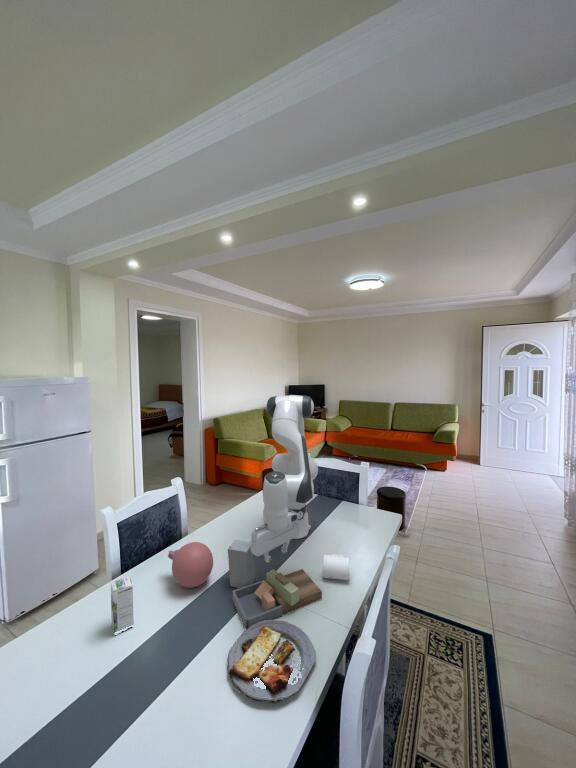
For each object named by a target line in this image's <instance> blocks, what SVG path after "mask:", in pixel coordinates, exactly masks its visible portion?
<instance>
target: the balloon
mask: <svg viewBox="0 0 576 768" xmlns="http://www.w3.org/2000/svg"><path fill="white" fill-rule="evenodd" d="M167 557H168V559H170V560H172V564H171V574H172V576H173V578H174V581H175V582H176V583H177V584H178V585H179V586H181V587H183V588H188V589H189V588H190V589H191V588H192V589H193V588H196V587H199V586H201V585H202V584H203V583H205V581H207V580H208V578H209V577H210V575H211V574H212V572H213V571H212V570H213V568H214V556H213V553H212V551H211V549H210V548H209V547H208V546H207V545H206V544H205V543H203V542H200V541H192V542H188V543H186V544H184V545H183V546H181V547H180V548H179V549H175V550H169V551H168V554H167Z"/></svg>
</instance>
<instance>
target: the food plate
mask: <svg viewBox="0 0 576 768" xmlns="http://www.w3.org/2000/svg"><path fill="white" fill-rule="evenodd" d="M281 638H283V639H284V640H285V641H282V642H281V644H280V641H281ZM279 645H280V646H279ZM293 645H294V646H295V647H294V646H293ZM295 648H296V649H295ZM296 650H297V652H299V653H298V654H299V655H297V657H299V658H300V657H301V658H300V659H301V662H300V663H301V664H300V670H299V669H298V671H300V672H301V675H302V678H298V682H297V683H296V684H294V685H291V684H288V680H289V678H290V675H291V673H292V671H293V670H294V669H293V668H292V667H290V666H291V665H292V662H294V661H295V660H296V659H297V657H296V656H294V655H292V654H293V653H294V651H296ZM271 654H272V655H273V656H271ZM269 656H271V658H272V659H274V660H273V662H274V663H273V664H277V666H273V665H270V666H269V664H268V667H265V670H264V671H263V669H262V670H261V668H263V667H264V666H263V665H264V663H266V661H268V660H269V659H271V658H269ZM294 659H295V660H294ZM316 659H317V653H316V650H315V647H314V645H313V642H312V641H311V639H310V637H309V635H308V634H306V632H305V631H303V630H302V628H300V627H299V626H297V625H295V624H292V623H290V622H288V621H286V620H278V619H275V620H264V621H261V622H258V623H256V624H254V625H252V626H250V627H248V628H247V629H246V630H244V631H243V632H242V633H241V634H240V636H239V637H238V638H237V639H236V641H235V642H234V643H233V644H232V646H231V647H230V649H229V650H228V655H227V673H228V675H229V677H230V680H231V683H232V684H233V685H234V686H235V688H237V689H238V690H239V691H240V692H241V693H242V694H243V695H245V697H246V698H247V699H251V700H252V701H254V702H255V701H256V702H267V703H279V702H283V700H284V701H286V700H287V699H288V698H289V697H290V696H291V697H293V696H294V695H296V694H297V693H298V691H300V689H301V687H302V686H303V684H304V682H305V681H306V679H307V677H308V675H309V673H310V672H311V670H312V668H313V665H314V664H315V663H316ZM302 668H304V669H303V670H302ZM297 676H299V673H298V674H297ZM256 677H257V678H260V680H261V681H262V682H263V683H264V685H265V686H266V689H261V688H260V687H256V686H254V681H253V678H254V679H255V678H256ZM294 681H296V677H295V678H293V681H292V683H294ZM257 683H258V681H255V684H257Z"/></svg>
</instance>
